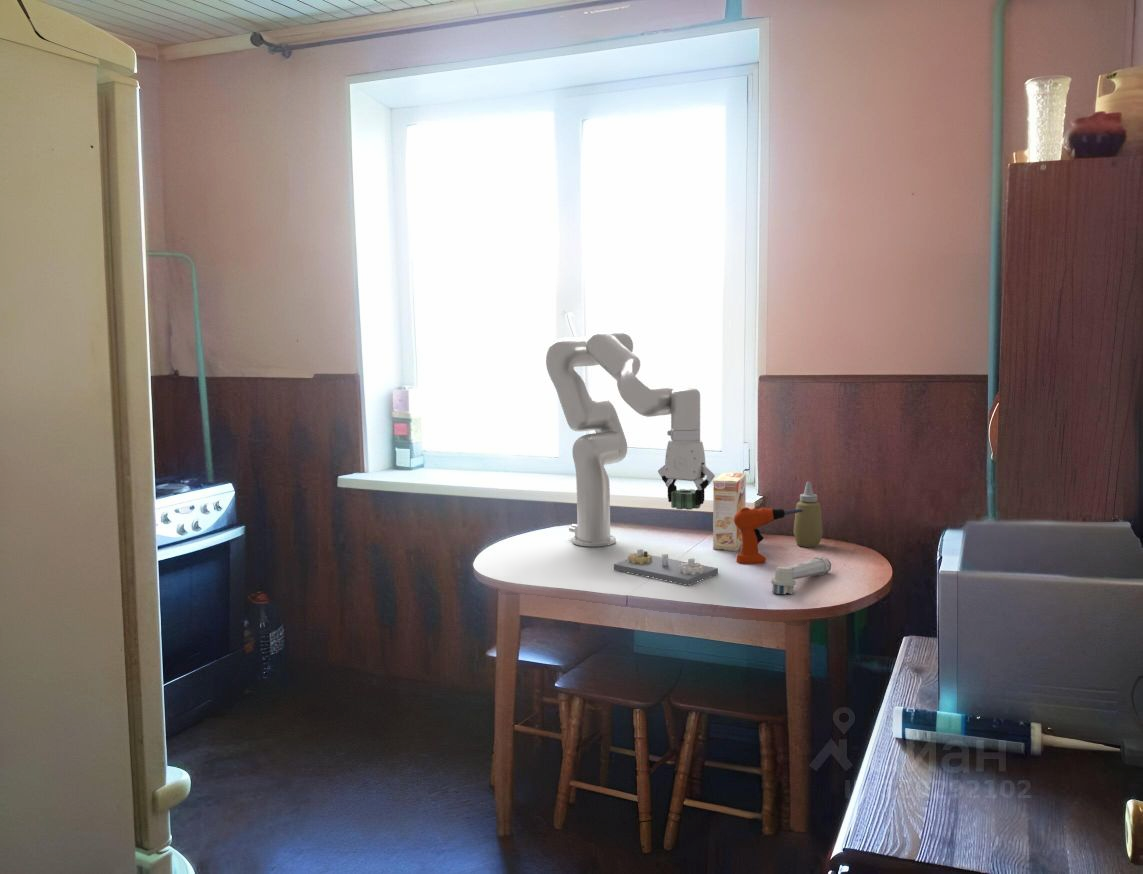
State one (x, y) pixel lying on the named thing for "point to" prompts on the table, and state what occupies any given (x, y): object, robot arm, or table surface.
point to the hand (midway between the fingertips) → (685, 502)
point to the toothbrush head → (798, 574)
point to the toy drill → (755, 531)
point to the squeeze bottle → (808, 519)
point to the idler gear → (683, 499)
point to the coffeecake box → (728, 510)
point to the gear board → (665, 568)
